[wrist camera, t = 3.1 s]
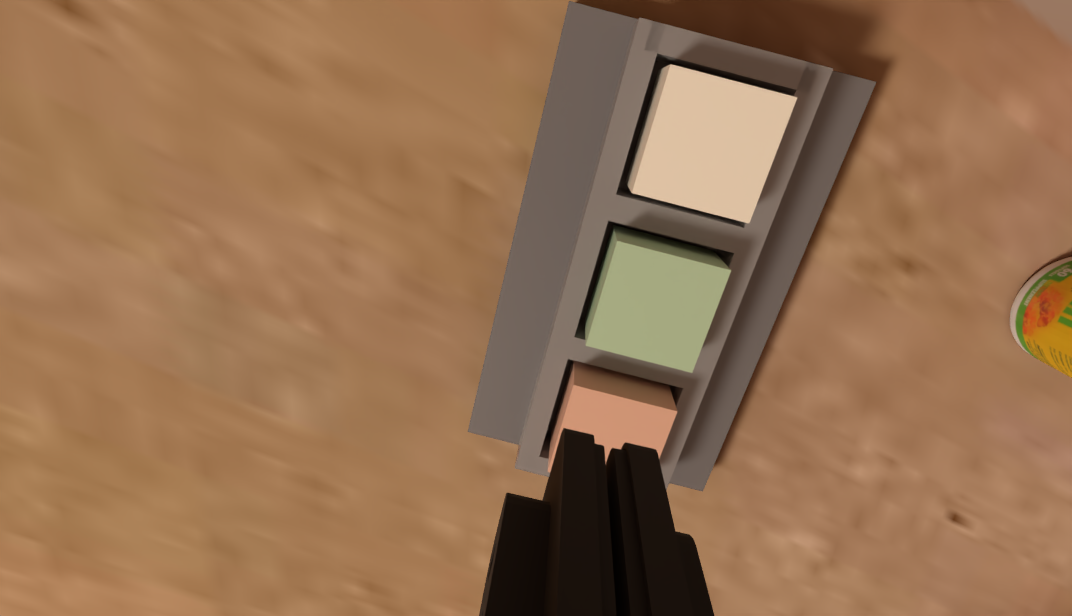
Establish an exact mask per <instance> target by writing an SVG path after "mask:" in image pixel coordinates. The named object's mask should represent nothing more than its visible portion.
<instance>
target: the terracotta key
mask: <svg viewBox="0 0 1072 616" xmlns="http://www.w3.org/2000/svg"><path fill="white" fill-rule="evenodd" d="M676 414H677V408H676V405H675V402H674V399H673V396H672V393H671V390H670V387H669V385H668V384H664V383H660V382H656V381H653V380H649V379H645V378H641V377H637V376H633V375H629V374H625V373H621V372H617V371H613V370H610V369H606V368H602V367H598V366H594V365H590V364H586V363H582V362H578V361H574V360H573V361H572V364H571V368H570V371H569V375H568V378H567V381H566V385H565V388H564V391H563V395H562V398H561V402H560V405H559V408H558V412H557V415H556V418H555V422H554V425H553V429H552V432H551V439H550V450H549V461H548V472H551V468H552V464H553V461H554V457H555V454H556V450H557V447H558V443H559V439H560V436H561V433H562V430H563V428H566V429H571V430H575V431H579V432H584V433H588V434H592V435H594V440H595V444H599V445H603V446H604V449H605V463H606V462H607V458H608V455H609V453H610V450H611V449H612V448H616V449H621V448H622V446H623V444H624V443H625V442H627V443H631V444H635V445H640V446H644V447H648V448H653V449H656V450H657V453H658V456H659V458H660V456H661V453H662V451H663V448H664V445H665V443H666V440H667V438H668V435H669V432H670V430H671V427H672V424H673V422H674V419H675V417H676Z"/></svg>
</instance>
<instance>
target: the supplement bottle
mask: <svg viewBox="0 0 1072 616" xmlns="http://www.w3.org/2000/svg"><path fill="white" fill-rule="evenodd" d="M1010 328H1011V331H1012V334H1013V336H1014V338H1015V340H1016V342H1017V343H1018V344H1019V345H1020V346H1021V348H1022V349H1024V350H1025V351H1026V352H1027V353H1029V354H1030V355H1032V356H1034V357H1035V358H1037V359H1039V360H1040V361H1042V362H1044V363H1046V364H1047V365H1049V366H1051V367H1053V368H1055V369H1057V370H1058V371H1060V372H1062V373H1064V374H1066V375H1067V376H1069V377H1071V378H1072V257H1068V258H1065V259H1062V260H1059V261H1056V262H1054V263H1052V264H1050V265H1048V266H1046V267H1044V268H1043V269H1041V270H1040V271H1039V272H1037V273H1036V274H1035V275H1033V276H1032V277H1031V278H1030V279H1029V280H1028V281H1027V282H1026V283H1025V285H1024V286H1023V287H1022V288H1021V290H1020V291H1019V293H1018V294H1017V296H1016V298H1015V300H1014V302H1013V305H1012V308H1011V312H1010Z"/></svg>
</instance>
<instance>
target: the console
mask: <svg viewBox="0 0 1072 616" xmlns="http://www.w3.org/2000/svg"><path fill="white" fill-rule="evenodd" d="M670 64H672V65H676V66H679V67H683V68H687V69H691V70H695V71H698V72H702V73H706V74H710V75H714V76H718V77H721V78H725V79H729V80H733V81H737V82H740V83H744V84H748V85H752V86H756V87H759V88H763V89H767V90H771V91H775V92H778V93H782V94H786V95H790V96H794V97H797V100H796V103H795V105H794V108H793V110H792V113H791V116H790V118H789V121H788V124H787V126H786V129H785V131H784V134H783V137H782V139H781V142H780V144H779V147H778V150H777V152H776V155H775V158H774V160H773V163H772V165H771V168H770V171H769V173H768V176H767V178H766V181H765V184H764V186H763V189H762V192H761V194H760V197H759V199H758V202H757V205H756V207H755V210H754V213H753V215H752V218H751V220H750V223H745V222H741V221H737V220H734V219H730V218H726V217H722V216H718V215H714V214H710V213H707V212H703V211H699V210H695V209H691V208H687V207H684V206H680V205H676V204H672V203H668V202H664V201H660V200H657V199H653V198H649V197H645V196H641V195H637V194H633V193H631V191H630V189H629V188H628V186H627V184H626V183H625V182H626V179H627V175H628V172H629V169H630V165H631V162H632V158H633V155H634V152H635V148H636V145H637V142H638V138H639V135H640V131H641V128H642V125H643V121H644V118H645V115H646V111H647V108H648V104H649V101H650V98H651V94H652V91H653V88H654V84H655V81H656V77H657V74H658V71H659V70H660V69H662V68H664V67H666V66H668V65H670ZM875 84H876V82H874V81H871V80H867V79H863V78H859V77H856V76H852V75H848V74H844V73H840V72H837V71H833V68H830V67H826V66H822V65H818V64H815V63H811V62H807V61H803V60H799V59H796V58H792V57H788V56H784V55H780V54H777V53H773V52H769V51H765V50H761V49H758V48H754V47H750V46H746V45H742V44H739V43H735V42H731V41H727V40H724V39H720V38H716V37H712V36H708V35H705V34H701V33H697V32H693V31H689V30H686V29H682V28H678V27H674V26H670V25H667V24H663V23H659V22H655V21H651V20H648V19H644V18H640V17H639V19H636V18H632V17H628V16H624V15H620V14H617V13H613V12H609V11H605V10H601V9H598V8H594V7H590V6H586V5H583V4H579V3H575V2H571V1H569V4H568V8H567V12H566V16H565V21H564V25H563V29H562V33H561V38H560V42H559V46H558V50H557V55H556V59H555V63H554V67H553V72H552V76H551V80H550V84H549V89H548V93H547V97H546V101H545V106H544V110H543V114H542V118H541V123H540V127H539V131H538V135H537V140H536V144H535V148H534V152H533V157H532V161H531V165H530V169H529V174H528V178H527V182H526V186H525V191H524V195H523V199H522V203H521V208H520V212H519V216H518V220H517V225H516V229H515V233H514V237H513V242H512V246H511V250H510V254H509V259H508V263H507V267H506V271H505V276H504V280H503V284H502V288H501V293H500V297H499V301H498V305H497V310H496V314H495V318H494V322H493V327H492V331H491V335H490V339H489V344H488V348H487V352H486V356H485V361H484V365H483V369H482V373H481V378H480V382H479V386H478V390H477V395H476V399H475V403H474V407H473V412H472V416H471V420H470V424H469V429H468V432H470V433H474V434H478V435H482V436H486V437H490V438H494V439H498V440H502V441H506V442H510V443H514V444H518V445H519V447H518V453H517V458H516V464H515V468H516V469H520V470H523V471H527V472H531V473H535V474H539V475H543V476H547V477H549V475H550V472H548V461H549V450H550V439H551V432H552V429H553V425H554V422H555V418H556V415H557V412H558V408H559V405H560V402H561V398H562V395H563V391H564V388H565V385H566V381H567V378H568V375H569V371H570V368H571V364H572V361H573V360H574V361H578V362H582V363H586V364H590V365H594V366H598V367H602V368H606V369H610V370H613V371H617V372H621V373H625V374H629V375H633V376H637V377H641V378H645V379H649V380H653V381H656V382H660V383H664V384H668V385H669V387H670V390H671V393H672V396H673V399H674V402H675V405H676V408H677V414H676V417H675V419H674V422H673V424H672V427H671V430H670V432H669V435H668V438H667V440H666V443H665V445H664V448H663V451H662V453H661V456H660V458H659V461H660V465H661V470H662V474H663V479H664V483H665V488H666V489H667V487H668V484H669V483H672V484H676V485H680V486H683V487H687V488H691V489H695V490H699V491H703V489H704V487H705V485H706V482H707V480H708V478H709V475H710V473H711V471H712V468H713V466H714V464H715V461H716V459H717V457H718V454H719V452H720V449H721V447H722V445H723V442H724V440H725V438H726V435H727V433H728V431H729V428H730V426H731V424H732V421H733V419H734V416H735V414H736V412H737V409H738V407H739V405H740V402H741V400H742V398H743V395H744V393H745V391H746V388H747V386H748V384H749V381H750V379H751V376H752V374H753V372H754V369H755V367H756V365H757V362H758V360H759V358H760V355H761V353H762V351H763V348H764V346H765V343H766V341H767V339H768V336H769V334H770V332H771V329H772V327H773V325H774V322H775V320H776V318H777V315H778V313H779V311H780V308H781V306H782V303H783V301H784V299H785V296H786V294H787V292H788V289H789V287H790V285H791V282H792V280H793V278H794V275H795V273H796V270H797V268H798V266H799V263H800V261H801V259H802V256H803V254H804V252H805V249H806V247H807V245H808V242H809V240H810V238H811V235H812V233H813V230H814V228H815V226H816V223H817V221H818V219H819V216H820V214H821V212H822V209H823V207H824V205H825V202H826V200H827V197H828V195H829V193H830V190H831V188H832V186H833V183H834V181H835V179H836V176H837V174H838V172H839V169H840V167H841V164H842V162H843V160H844V157H845V155H846V153H847V150H848V148H849V146H850V143H851V141H852V139H853V136H854V134H855V132H856V129H857V127H858V124H859V122H860V120H861V117H862V115H863V113H864V110H865V108H866V106H867V103H868V101H869V99H870V96H871V94H872V91H873V89H874V87H875ZM613 225H616V226H620V227H623V228H627V229H631V230H635V231H639V232H643V233H647V234H650V235H654V236H658V237H662V238H666V239H670V240H674V241H678V242H681V243H685V244H689V245H693V246H697V247H701V248H705V249H708V250H712V251H714V252H715V253H716V254H717V255H718V256H719V258H720V259H721V260H722V261H723V262H724V263H725V264H726V265H727V266H728V267H729V268H730V269H731V273H730V275H729V278H728V281H727V283H726V286H725V288H724V291H723V294H722V296H721V299H720V301H719V304H718V307H717V309H716V312H715V315H714V317H713V320H712V322H711V325H710V328H709V330H708V333H707V335H706V338H705V341H704V343H703V346H702V349H701V351H700V354H699V356H698V359H697V362H696V364H695V367H694V369H693V372H692V373H690V372H686V371H682V370H679V369H675V368H671V367H667V366H663V365H659V364H655V363H651V362H647V361H643V360H639V359H636V358H632V357H628V356H624V355H620V354H616V353H612V352H608V351H604V350H600V349H597V348H593V347H589V346H586V340H585V317H586V314H587V310H588V307H589V304H590V300H591V297H592V293H593V290H594V287H595V283H596V280H597V277H598V273H599V270H600V266H601V263H602V260H603V256H604V253H605V250H606V246H607V243H608V239H609V236H610V233H611V229H612V226H613Z"/></svg>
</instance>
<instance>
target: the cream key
mask: <svg viewBox="0 0 1072 616" xmlns="http://www.w3.org/2000/svg"><path fill="white" fill-rule="evenodd" d="M796 100H797V97H794V96H790V95H786V94H782V93H778V92H775V91H771V90H767V89H763V88H759V87H756V86H752V85H748V84H744V83H740V82H737V81H733V80H729V79H725V78H721V77H718V76H714V75H710V74H706V73H702V72H698V71H695V70H691V69H687V68H683V67H679V66H676V65H672V64H670V65H668V66H666V67H664V68H662V69H660V70H659V71H658V74H657V77H656V81H655V84H654V88H653V91H652V94H651V98H650V101H649V104H648V108H647V111H646V115H645V118H644V121H643V125H642V128H641V131H640V135H639V138H638V142H637V145H636V148H635V152H634V155H633V158H632V162H631V165H630V169H629V172H628V175H627V179H626V182H625V183H626V184H627V186H628V188H629V189H630V191H631V193H633V194H637V195H641V196H645V197H649V198H653V199H657V200H660V201H664V202H668V203H672V204H676V205H680V206H684V207H687V208H691V209H695V210H699V211H703V212H707V213H710V214H714V215H718V216H722V217H726V218H730V219H734V220H737V221H741V222H745V223H750V220H751V218H752V215H753V213H754V210H755V207H756V205H757V202H758V199H759V197H760V194H761V192H762V189H763V186H764V184H765V181H766V178H767V176H768V173H769V171H770V168H771V165H772V163H773V160H774V158H775V155H776V152H777V150H778V147H779V144H780V142H781V139H782V137H783V134H784V131H785V129H786V126H787V124H788V121H789V118H790V116H791V113H792V110H793V108H794V105H795V103H796Z"/></svg>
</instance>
